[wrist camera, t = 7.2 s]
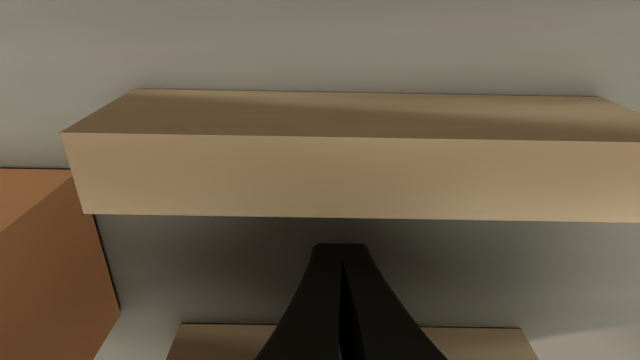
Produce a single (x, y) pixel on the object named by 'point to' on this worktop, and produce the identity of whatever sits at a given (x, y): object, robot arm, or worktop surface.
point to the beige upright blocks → (357, 171)
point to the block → (50, 270)
